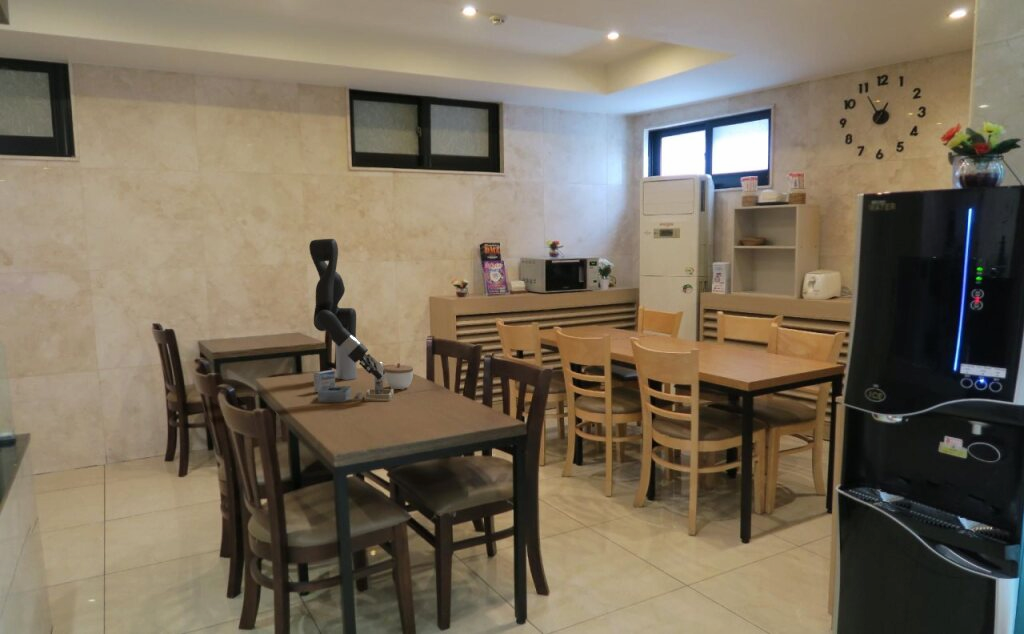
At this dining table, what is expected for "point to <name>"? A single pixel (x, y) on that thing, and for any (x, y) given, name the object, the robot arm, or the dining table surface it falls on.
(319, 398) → the socket block
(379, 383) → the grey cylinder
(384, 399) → the tray
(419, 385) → the dining table surface
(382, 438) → the dining table surface
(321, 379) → the medicine box
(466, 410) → the dining table surface
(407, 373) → the lidded bowl
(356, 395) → the bar
